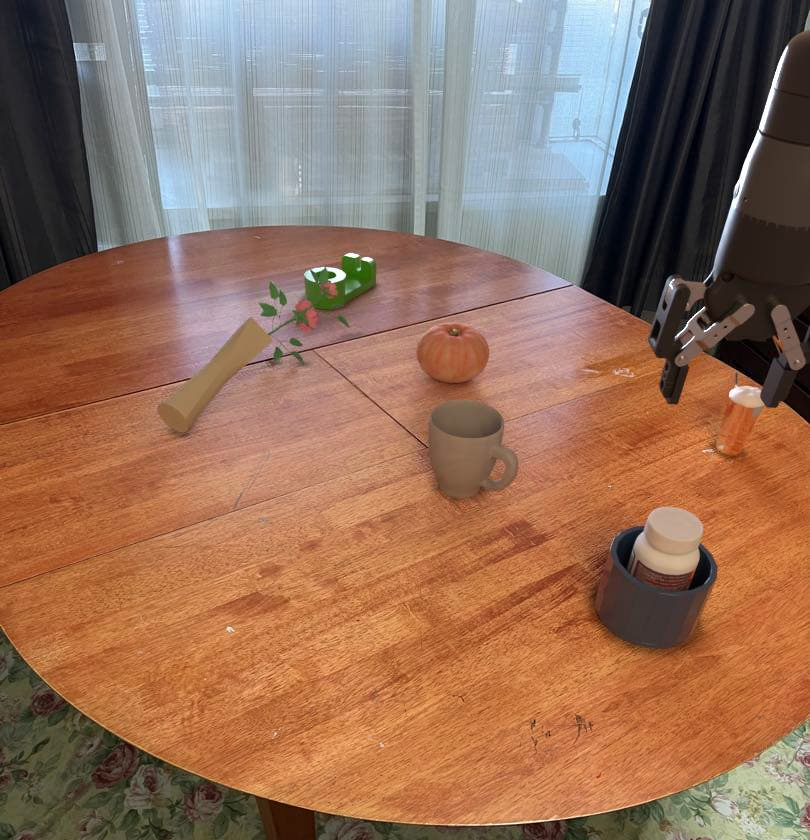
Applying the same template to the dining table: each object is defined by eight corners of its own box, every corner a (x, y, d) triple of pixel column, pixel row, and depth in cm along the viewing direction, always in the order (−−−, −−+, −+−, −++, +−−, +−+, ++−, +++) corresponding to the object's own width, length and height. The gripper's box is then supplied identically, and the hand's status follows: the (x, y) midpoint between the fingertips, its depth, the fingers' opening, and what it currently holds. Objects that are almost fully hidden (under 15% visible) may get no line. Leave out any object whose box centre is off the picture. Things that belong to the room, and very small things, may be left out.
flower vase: (176, 464, 108) (306, 325, 126) (236, 471, 101) (365, 322, 120) (129, 396, 100) (276, 259, 119) (191, 399, 94) (336, 252, 112)
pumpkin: (474, 357, 121) (480, 309, 116) (495, 391, 113) (502, 341, 108) (408, 361, 119) (411, 312, 114) (424, 396, 111) (427, 345, 106)
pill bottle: (686, 627, 77) (722, 542, 70) (628, 631, 76) (658, 546, 69) (663, 585, 82) (693, 501, 74) (608, 588, 81) (633, 504, 73)
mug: (409, 485, 94) (413, 418, 88) (453, 456, 99) (460, 391, 93) (487, 528, 88) (498, 460, 82) (529, 495, 94) (542, 428, 87)
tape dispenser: (330, 312, 131) (330, 286, 128) (297, 302, 134) (296, 276, 131) (377, 285, 141) (377, 260, 138) (345, 276, 144) (345, 251, 141)
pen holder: (679, 579, 83) (699, 526, 78) (707, 651, 75) (732, 597, 71) (586, 576, 83) (601, 523, 78) (605, 647, 75) (623, 593, 70)
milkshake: (725, 434, 107) (750, 369, 100) (752, 454, 103) (779, 389, 96) (699, 440, 105) (722, 375, 99) (725, 461, 101) (751, 395, 95)
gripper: (705, 218, 52) (647, 423, 62) (911, 226, 52) (818, 427, 63) (675, 185, 57) (626, 377, 68) (861, 192, 58) (783, 382, 68)
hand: (718, 401), depth 65 cm, fingers open, 8 cm apart
